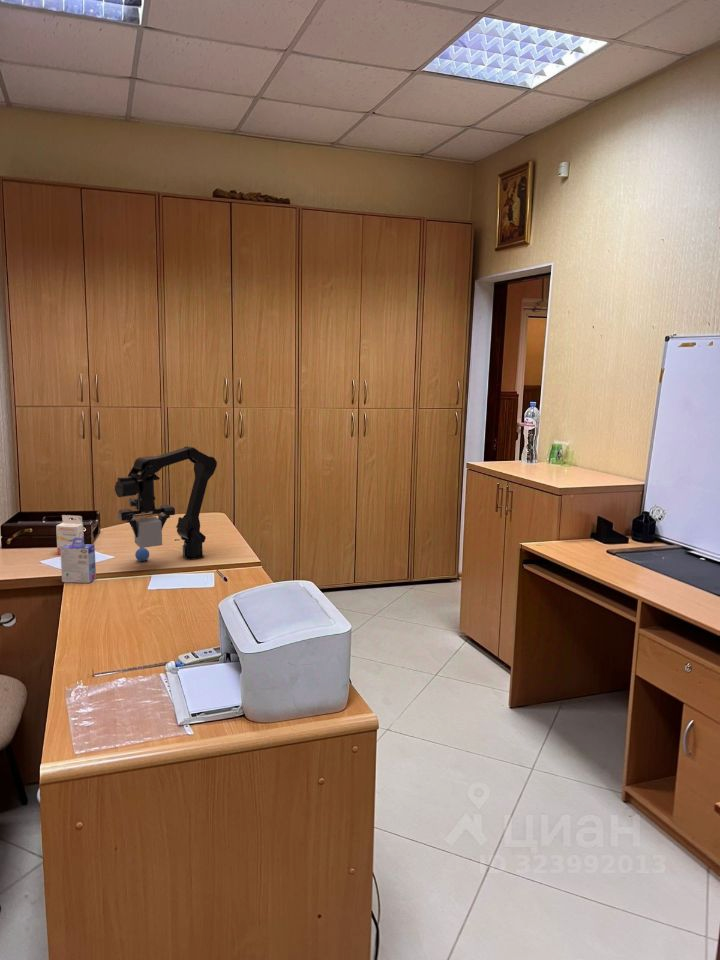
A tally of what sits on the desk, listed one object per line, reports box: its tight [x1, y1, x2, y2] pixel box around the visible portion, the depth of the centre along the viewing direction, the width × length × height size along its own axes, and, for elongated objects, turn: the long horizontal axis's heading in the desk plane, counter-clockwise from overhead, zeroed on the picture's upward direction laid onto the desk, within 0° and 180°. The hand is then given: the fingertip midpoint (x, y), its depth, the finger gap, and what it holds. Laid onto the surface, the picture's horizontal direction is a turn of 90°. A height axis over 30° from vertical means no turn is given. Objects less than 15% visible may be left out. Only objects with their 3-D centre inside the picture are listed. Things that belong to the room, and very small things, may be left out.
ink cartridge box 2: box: [60, 537, 97, 584], centre depth 230 cm, size 10×6×14 cm, turn 89°
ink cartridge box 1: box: [55, 514, 85, 556], centre depth 258 cm, size 9×5×15 cm, turn 84°
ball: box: [135, 547, 150, 562], centre depth 253 cm, size 5×5×5 cm
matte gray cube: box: [134, 516, 163, 549], centre depth 243 cm, size 8×8×9 cm
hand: (147, 535), depth 244 cm, fingers closed on matte gray cube, 8 cm apart
